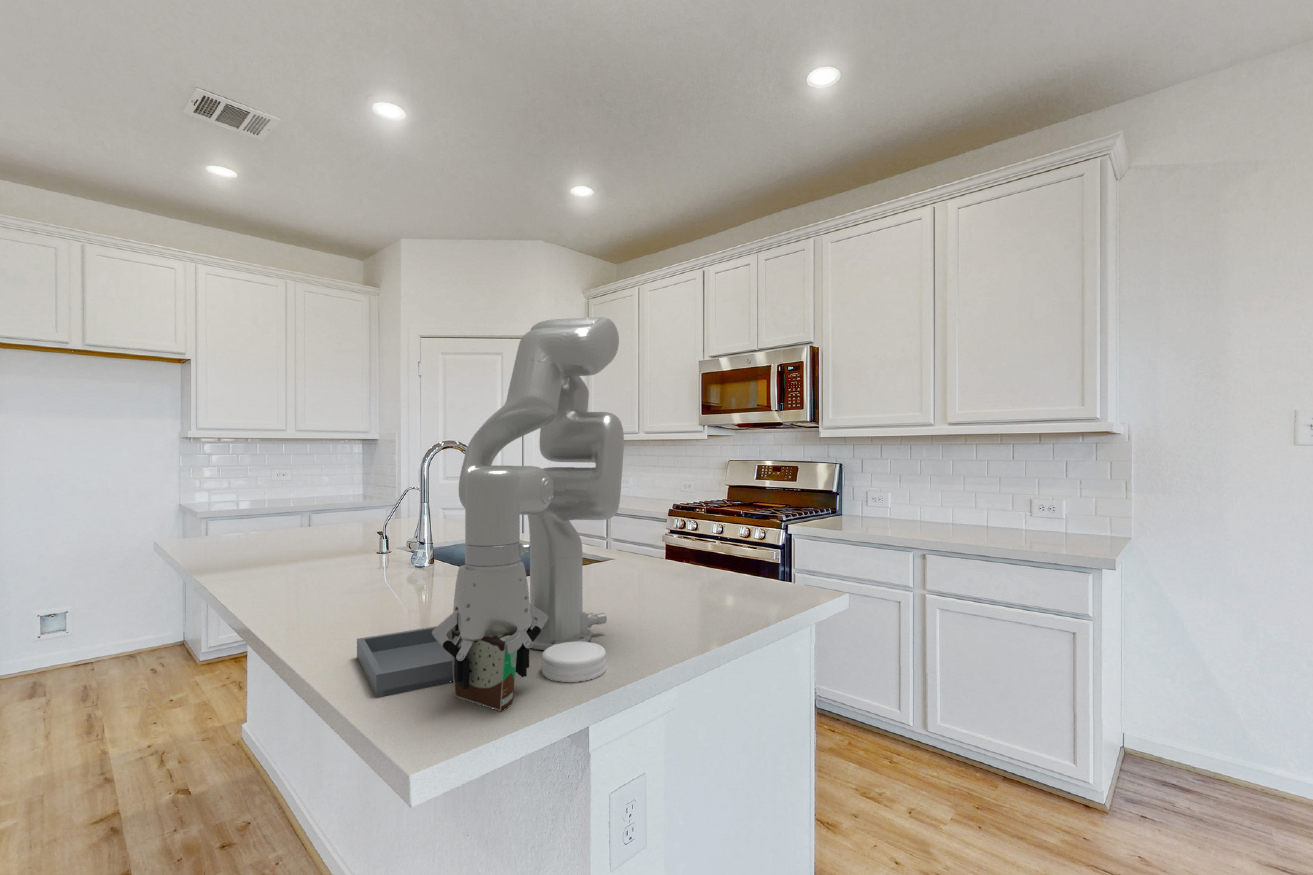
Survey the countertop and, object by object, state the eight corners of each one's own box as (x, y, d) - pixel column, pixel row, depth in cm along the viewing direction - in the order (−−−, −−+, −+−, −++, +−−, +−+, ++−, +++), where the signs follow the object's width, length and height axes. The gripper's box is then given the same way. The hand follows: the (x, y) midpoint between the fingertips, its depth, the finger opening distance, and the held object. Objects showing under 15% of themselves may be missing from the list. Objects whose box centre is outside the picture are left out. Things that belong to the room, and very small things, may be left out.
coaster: (575, 657, 106) (575, 636, 106) (618, 670, 100) (618, 648, 100) (528, 674, 98) (528, 651, 98) (572, 689, 92) (572, 665, 92)
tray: (475, 637, 116) (475, 620, 116) (512, 669, 100) (512, 649, 100) (356, 657, 106) (356, 638, 106) (376, 697, 89) (376, 674, 89)
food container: (541, 698, 88) (540, 627, 88) (508, 714, 83) (508, 638, 83) (481, 681, 95) (480, 614, 95) (447, 694, 90) (447, 624, 90)
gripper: (540, 546, 97) (540, 661, 96) (422, 557, 87) (422, 684, 87) (560, 553, 90) (560, 675, 90) (436, 565, 81) (435, 702, 81)
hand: (492, 679), depth 89 cm, fingers open, 7 cm apart
